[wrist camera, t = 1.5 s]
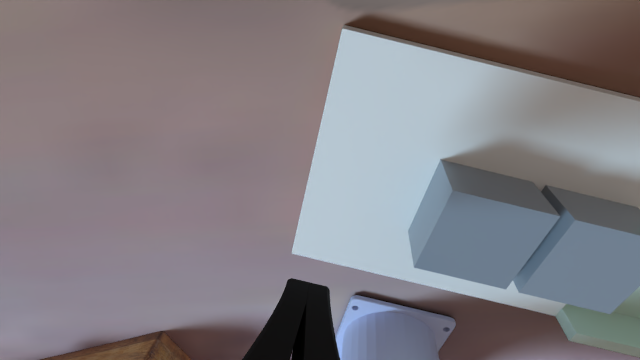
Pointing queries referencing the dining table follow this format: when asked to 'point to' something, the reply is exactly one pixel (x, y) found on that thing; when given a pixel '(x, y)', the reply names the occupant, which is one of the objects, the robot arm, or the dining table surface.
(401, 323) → the robot arm
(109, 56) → the dining table surface
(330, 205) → the board
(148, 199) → the dining table surface
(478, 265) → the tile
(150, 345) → the wooden box
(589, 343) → the tray
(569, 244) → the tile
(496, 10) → the dining table surface
